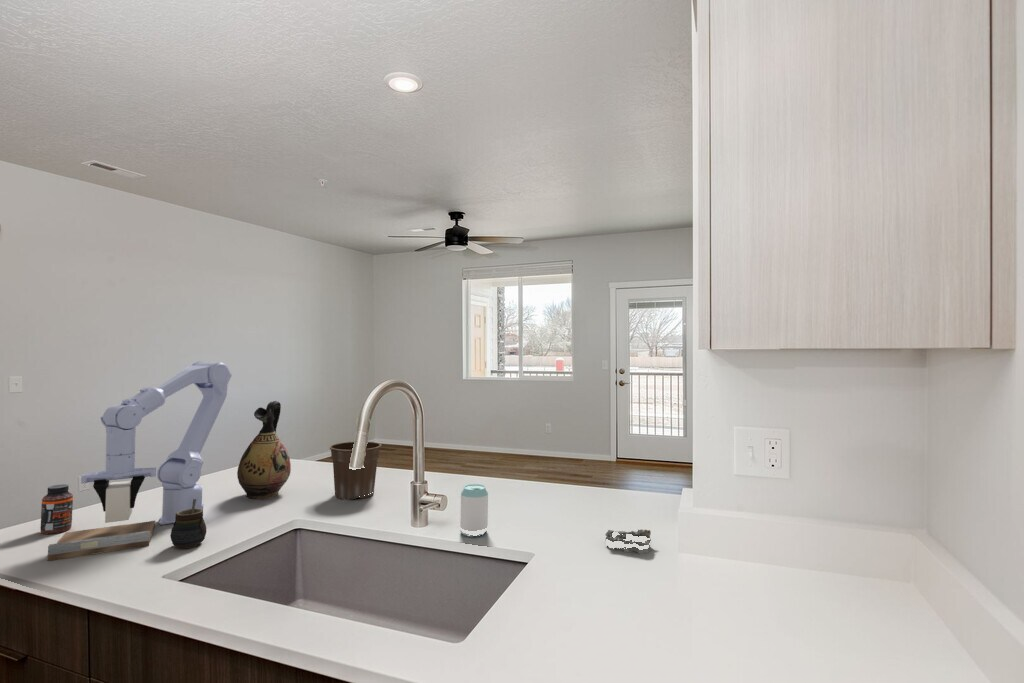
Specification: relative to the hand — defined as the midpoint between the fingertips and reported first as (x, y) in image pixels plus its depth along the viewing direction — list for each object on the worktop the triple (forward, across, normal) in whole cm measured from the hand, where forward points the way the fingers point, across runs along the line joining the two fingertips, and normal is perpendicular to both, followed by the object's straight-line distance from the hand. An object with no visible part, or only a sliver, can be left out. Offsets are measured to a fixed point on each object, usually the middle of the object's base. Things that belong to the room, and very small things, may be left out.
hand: (119, 508), depth 124 cm
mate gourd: (+7, +15, -14) cm, 22 cm away
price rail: (+6, -2, -10) cm, 11 cm away
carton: (+2, 0, 0) cm, 2 cm away
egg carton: (+8, +106, -67) cm, 126 cm away
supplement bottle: (+7, -14, +13) cm, 20 cm away
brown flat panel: (+7, -2, -2) cm, 8 cm away
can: (+7, +78, -40) cm, 88 cm away
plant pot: (+8, +60, +10) cm, 61 cm away
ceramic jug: (+7, +35, +24) cm, 43 cm away
